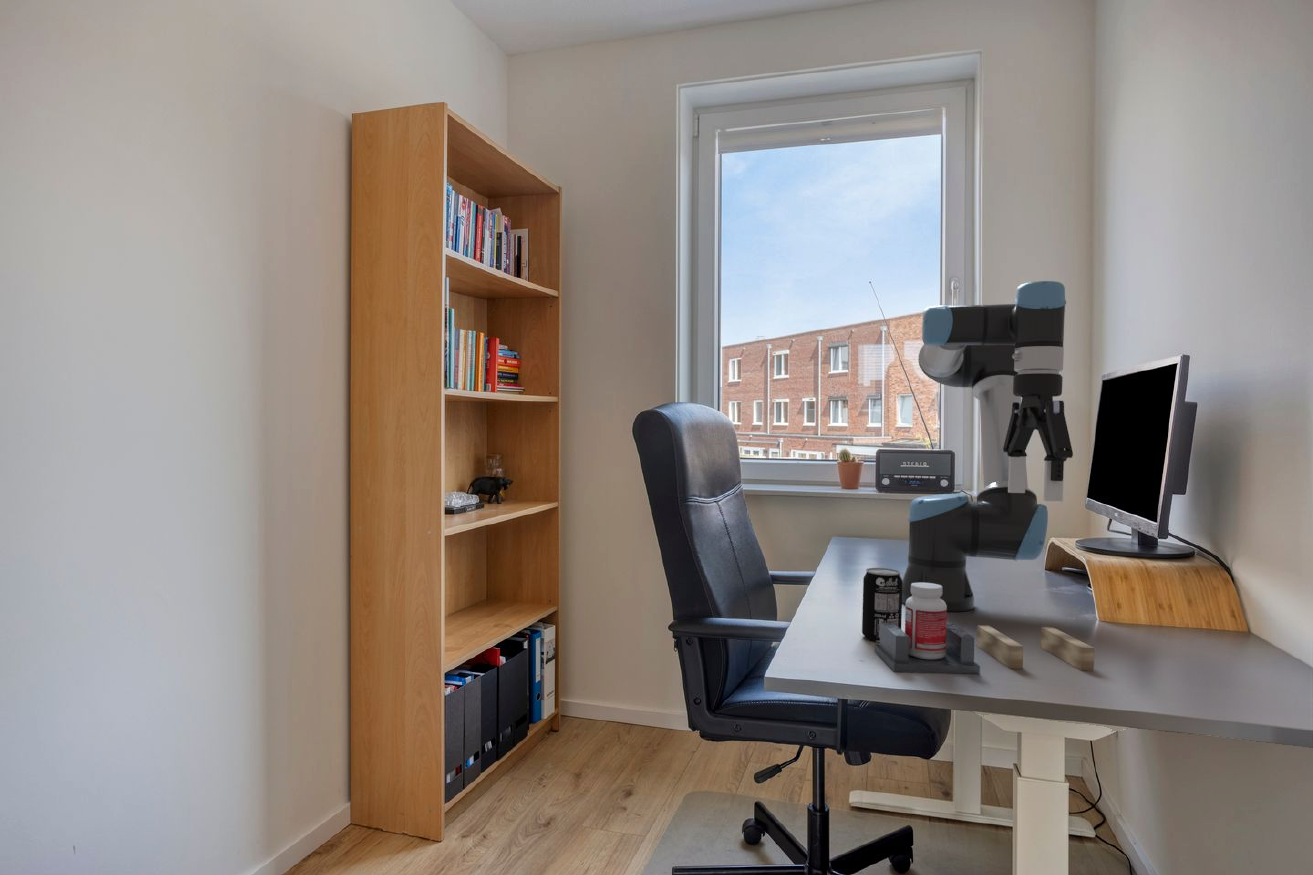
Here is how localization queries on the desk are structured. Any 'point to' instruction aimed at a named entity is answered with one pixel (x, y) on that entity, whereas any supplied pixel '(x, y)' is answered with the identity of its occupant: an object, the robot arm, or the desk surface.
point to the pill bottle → (926, 621)
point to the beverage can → (881, 600)
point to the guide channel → (1050, 641)
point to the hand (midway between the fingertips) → (1033, 496)
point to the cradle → (899, 660)
